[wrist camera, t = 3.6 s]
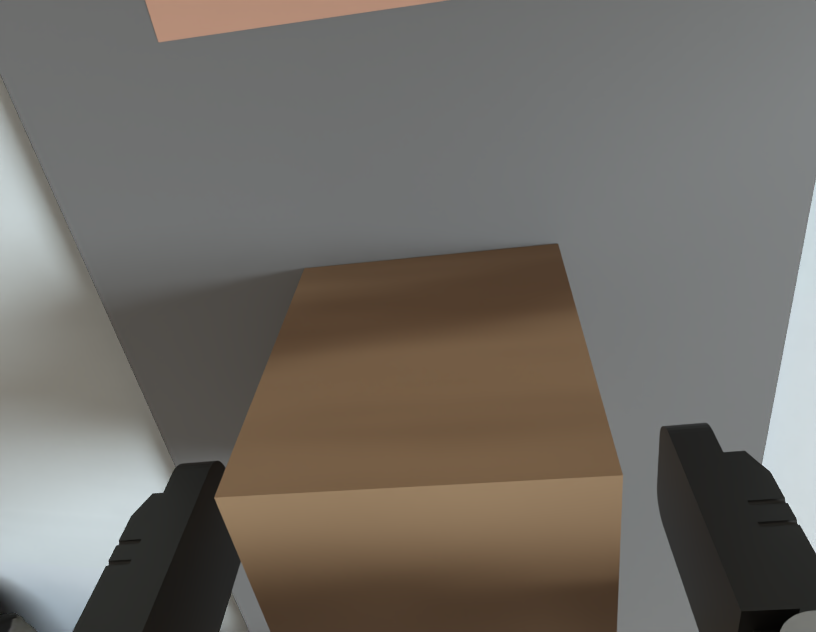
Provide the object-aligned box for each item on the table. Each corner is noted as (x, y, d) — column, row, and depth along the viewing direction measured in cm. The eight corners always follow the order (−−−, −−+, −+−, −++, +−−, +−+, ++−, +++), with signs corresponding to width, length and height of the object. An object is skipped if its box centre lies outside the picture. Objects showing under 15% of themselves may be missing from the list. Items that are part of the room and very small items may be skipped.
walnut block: (304, 268, 14) (213, 498, 8) (558, 243, 13) (623, 475, 8) (350, 450, 16) (302, 708, 11) (563, 437, 16) (614, 704, 11)
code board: (-363, -848, 7) (-447, -923, 7) (1056, -1358, 6) (1140, -1532, 5) (304, 721, 25) (299, 745, 24) (702, 717, 23) (709, 743, 22)
